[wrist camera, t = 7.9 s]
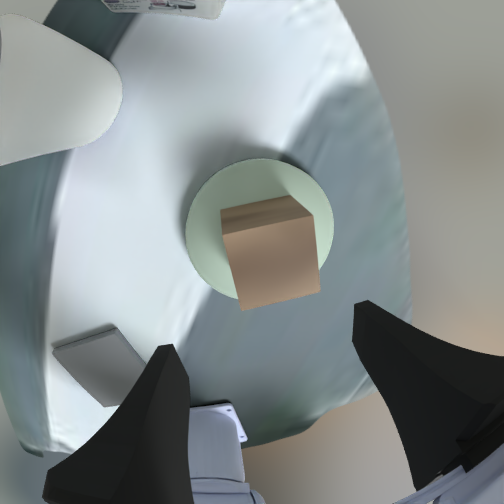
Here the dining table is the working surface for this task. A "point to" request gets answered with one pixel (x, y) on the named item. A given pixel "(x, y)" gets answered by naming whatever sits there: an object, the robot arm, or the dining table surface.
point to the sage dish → (243, 192)
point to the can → (51, 91)
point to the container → (169, 7)
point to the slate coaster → (102, 365)
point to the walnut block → (271, 251)
